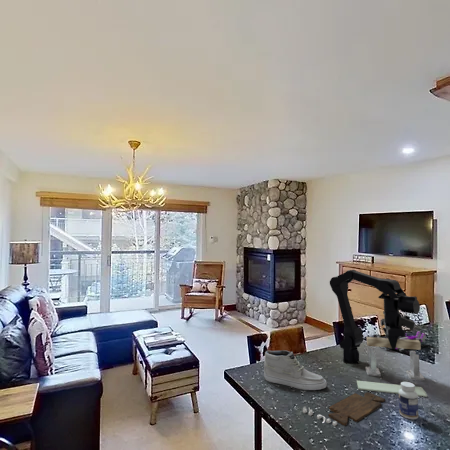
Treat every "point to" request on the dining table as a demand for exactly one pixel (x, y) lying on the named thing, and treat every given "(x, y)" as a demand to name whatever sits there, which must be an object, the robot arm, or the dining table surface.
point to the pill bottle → (408, 401)
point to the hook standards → (412, 374)
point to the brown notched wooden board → (355, 407)
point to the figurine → (409, 339)
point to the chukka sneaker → (290, 371)
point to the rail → (400, 344)
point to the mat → (386, 388)
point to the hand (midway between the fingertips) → (392, 347)
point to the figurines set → (319, 416)
